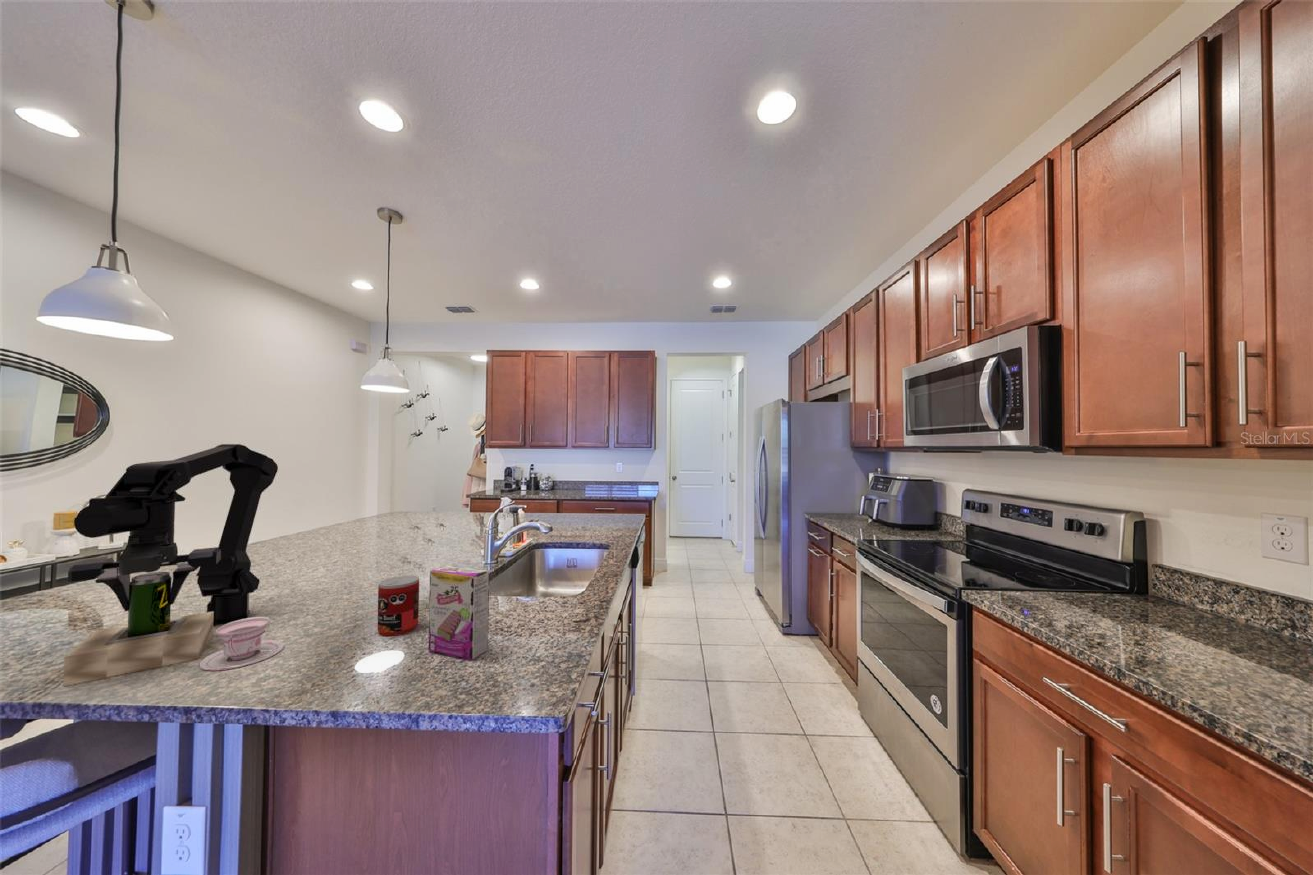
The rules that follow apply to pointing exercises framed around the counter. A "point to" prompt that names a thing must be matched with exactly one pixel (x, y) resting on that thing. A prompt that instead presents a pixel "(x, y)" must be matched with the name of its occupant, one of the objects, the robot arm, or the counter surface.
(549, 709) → the counter surface
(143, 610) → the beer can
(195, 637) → the socket block
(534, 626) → the counter surface
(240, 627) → the teacup
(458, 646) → the candy bar box
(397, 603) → the canned food
